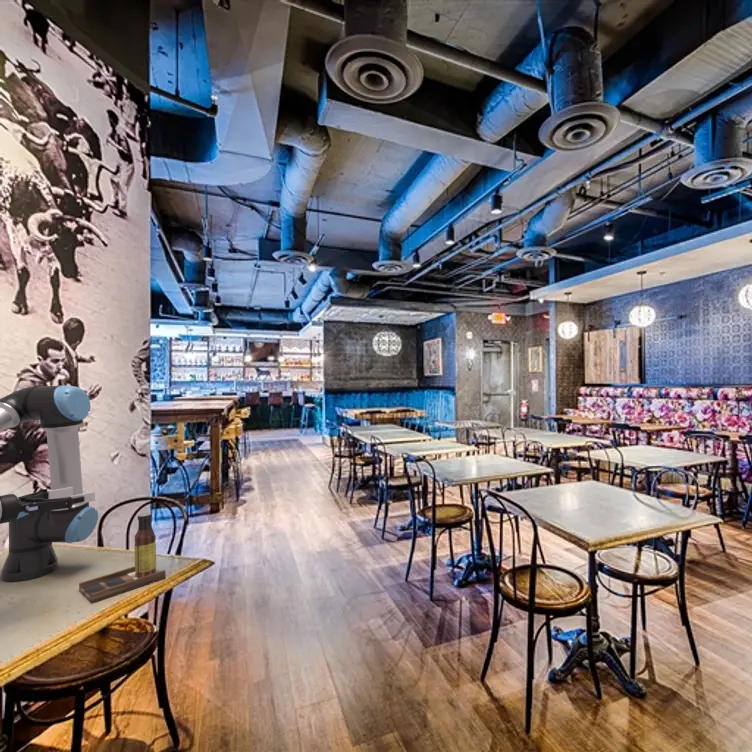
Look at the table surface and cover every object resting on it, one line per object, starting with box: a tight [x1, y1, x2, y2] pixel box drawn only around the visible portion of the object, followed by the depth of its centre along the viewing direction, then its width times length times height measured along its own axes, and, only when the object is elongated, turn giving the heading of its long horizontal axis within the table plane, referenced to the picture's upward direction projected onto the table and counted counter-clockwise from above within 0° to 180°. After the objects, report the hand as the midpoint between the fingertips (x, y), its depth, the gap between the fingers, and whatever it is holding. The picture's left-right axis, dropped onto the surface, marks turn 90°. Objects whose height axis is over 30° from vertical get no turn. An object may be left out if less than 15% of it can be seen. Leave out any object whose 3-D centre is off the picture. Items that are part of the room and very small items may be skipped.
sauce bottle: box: [134, 512, 157, 578], centre depth 138 cm, size 7×6×20 cm
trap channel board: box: [78, 565, 166, 604], centre depth 133 cm, size 12×21×2 cm, turn 140°
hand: (83, 493), depth 131 cm, fingers open, 13 cm apart
